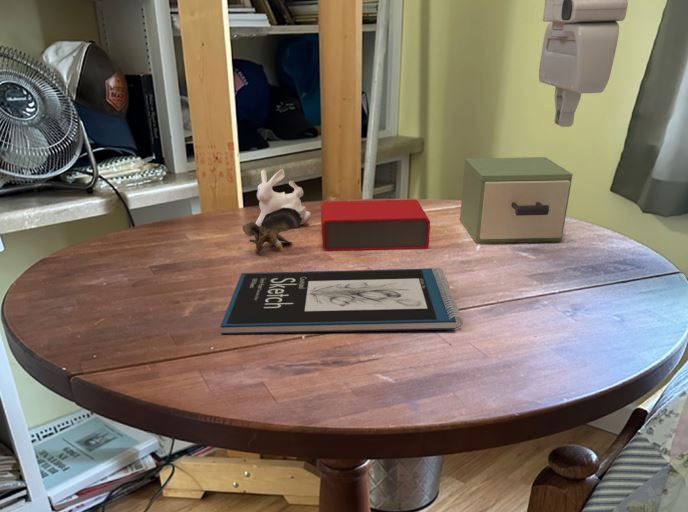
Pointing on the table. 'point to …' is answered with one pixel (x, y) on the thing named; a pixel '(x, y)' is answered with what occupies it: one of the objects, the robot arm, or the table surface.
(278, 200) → the rabbit figurine
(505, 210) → the drawer
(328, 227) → the red device housing
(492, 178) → the cabinet
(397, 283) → the sketchbook
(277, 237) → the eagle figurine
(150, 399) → the table surface
